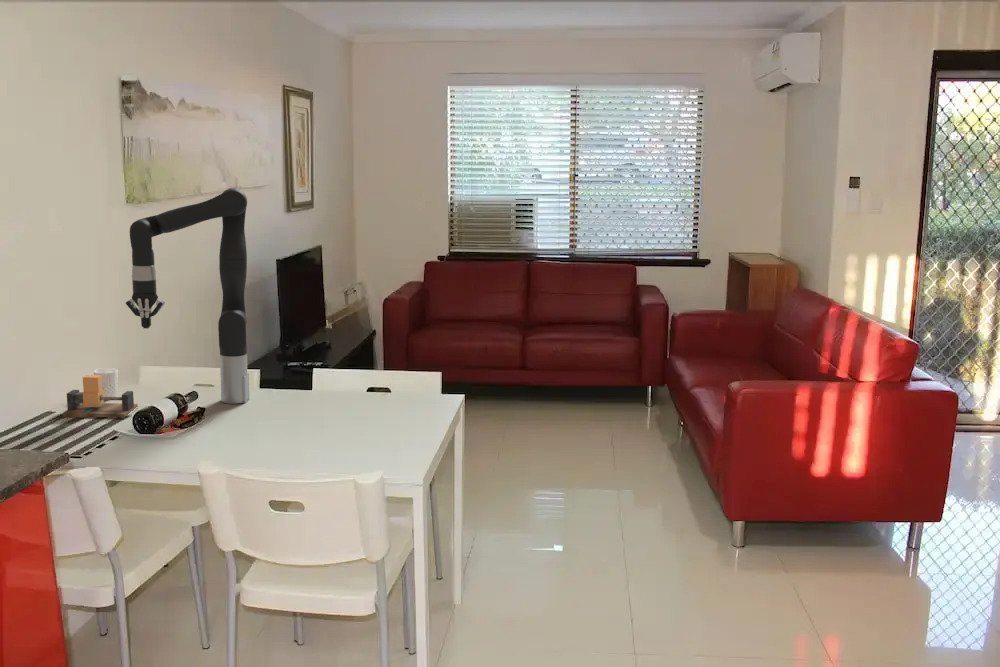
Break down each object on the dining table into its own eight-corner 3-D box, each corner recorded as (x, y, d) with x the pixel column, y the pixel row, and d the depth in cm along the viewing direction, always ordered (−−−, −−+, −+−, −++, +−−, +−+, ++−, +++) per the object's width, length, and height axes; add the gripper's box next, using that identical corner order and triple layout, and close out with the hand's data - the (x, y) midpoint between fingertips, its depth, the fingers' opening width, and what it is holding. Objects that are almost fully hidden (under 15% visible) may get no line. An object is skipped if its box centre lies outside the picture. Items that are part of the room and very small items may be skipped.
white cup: (90, 399, 318) (88, 372, 316) (104, 393, 325) (103, 367, 323) (109, 401, 316) (108, 374, 314) (123, 395, 324) (122, 369, 322)
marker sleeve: (103, 402, 305) (102, 374, 303) (98, 406, 301) (97, 378, 299) (88, 402, 305) (87, 374, 303) (83, 405, 300) (81, 377, 298)
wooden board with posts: (137, 408, 310) (136, 388, 308) (124, 418, 298) (123, 397, 296) (78, 406, 309) (77, 387, 307) (63, 416, 297) (61, 396, 296)
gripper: (167, 277, 311) (169, 326, 314) (128, 276, 310) (130, 325, 314) (160, 280, 303) (162, 330, 307) (120, 279, 303) (122, 329, 306)
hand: (146, 328), depth 310 cm, fingers closed
